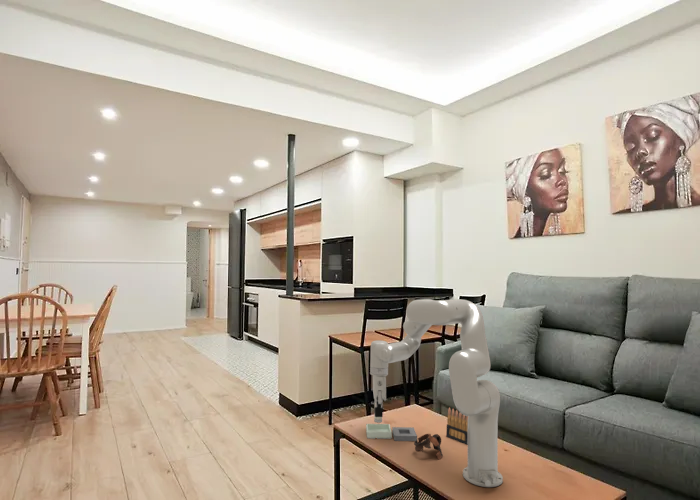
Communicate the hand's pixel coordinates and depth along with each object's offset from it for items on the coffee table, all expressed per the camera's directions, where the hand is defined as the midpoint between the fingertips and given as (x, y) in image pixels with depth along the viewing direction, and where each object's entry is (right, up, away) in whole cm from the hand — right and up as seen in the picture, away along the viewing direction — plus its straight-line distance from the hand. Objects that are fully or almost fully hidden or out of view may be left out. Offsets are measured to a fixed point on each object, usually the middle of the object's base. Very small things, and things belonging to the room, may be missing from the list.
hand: (378, 414), depth 170 cm
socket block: (+11, -8, -3) cm, 13 cm away
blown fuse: (0, -3, 0) cm, 3 cm away
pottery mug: (+18, -8, -18) cm, 27 cm away
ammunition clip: (+32, -8, -6) cm, 34 cm away
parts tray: (0, -8, -1) cm, 8 cm away
